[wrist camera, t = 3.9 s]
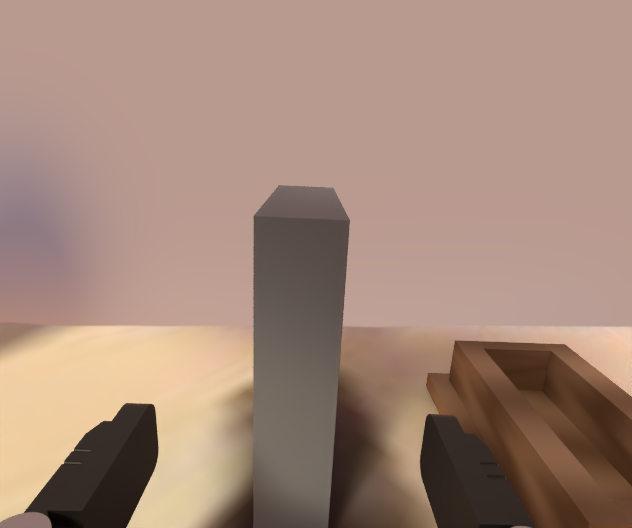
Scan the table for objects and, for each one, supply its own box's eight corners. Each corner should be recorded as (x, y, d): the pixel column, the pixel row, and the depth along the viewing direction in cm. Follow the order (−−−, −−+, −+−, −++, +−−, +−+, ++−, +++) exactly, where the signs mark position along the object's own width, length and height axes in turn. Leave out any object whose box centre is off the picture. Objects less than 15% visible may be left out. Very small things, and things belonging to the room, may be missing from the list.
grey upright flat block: (326, 555, 16) (349, 220, 12) (253, 553, 16) (253, 216, 12) (320, 404, 26) (333, 188, 22) (274, 402, 26) (279, 185, 22)
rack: (814, 633, 14) (862, 550, 13) (542, 627, 14) (567, 543, 13) (563, 389, 29) (576, 339, 28) (426, 385, 29) (433, 335, 27)
